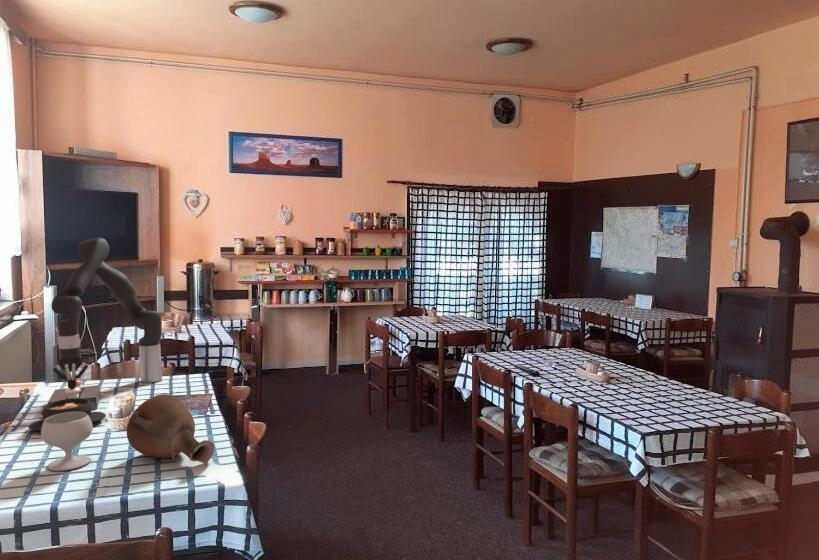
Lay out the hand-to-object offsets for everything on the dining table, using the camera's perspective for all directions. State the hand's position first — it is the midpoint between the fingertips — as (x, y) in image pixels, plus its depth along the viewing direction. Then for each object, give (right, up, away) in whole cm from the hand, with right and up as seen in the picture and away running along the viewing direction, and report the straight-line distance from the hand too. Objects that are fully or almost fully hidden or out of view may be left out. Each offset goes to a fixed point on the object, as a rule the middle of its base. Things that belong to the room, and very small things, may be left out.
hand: (72, 388), depth 248 cm
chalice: (+29, -14, -55) cm, 64 cm away
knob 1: (0, -6, +1) cm, 6 cm away
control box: (-2, -8, +7) cm, 11 cm away
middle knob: (-2, -4, +7) cm, 8 cm away
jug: (+60, -13, -51) cm, 80 cm away
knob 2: (-5, -7, +14) cm, 16 cm away
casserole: (+9, -11, -18) cm, 23 cm away
